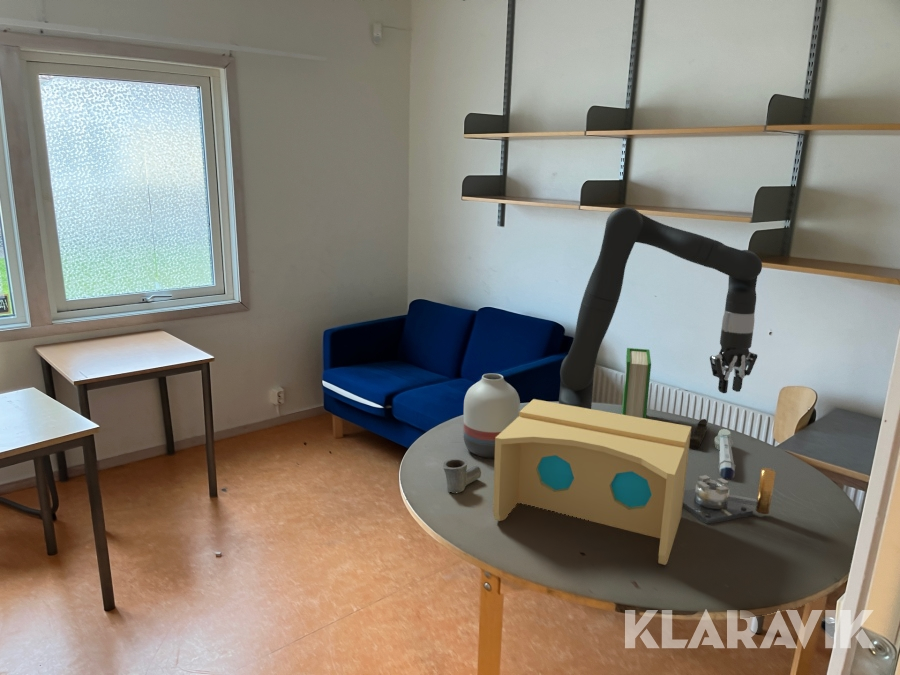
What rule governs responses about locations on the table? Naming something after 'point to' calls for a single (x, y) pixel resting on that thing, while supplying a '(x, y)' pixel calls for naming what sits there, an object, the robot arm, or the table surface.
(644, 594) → the table surface
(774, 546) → the table surface
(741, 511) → the hub plate
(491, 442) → the vase
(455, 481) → the pipe
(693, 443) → the hand tool
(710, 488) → the crank handle
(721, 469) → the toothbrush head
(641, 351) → the hardback book
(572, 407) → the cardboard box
